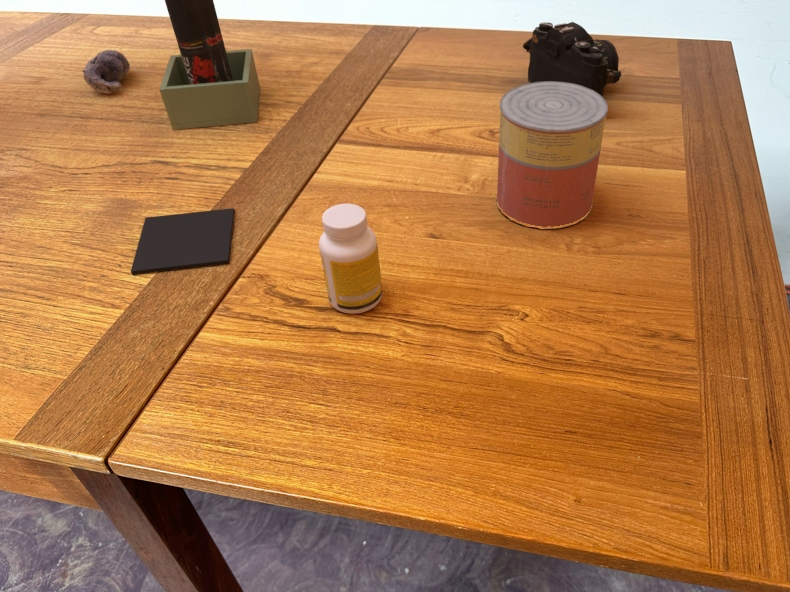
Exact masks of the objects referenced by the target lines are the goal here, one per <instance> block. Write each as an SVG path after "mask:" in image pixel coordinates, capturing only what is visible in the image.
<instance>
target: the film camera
mask: <svg viewBox="0 0 790 592" xmlns="http://www.w3.org/2000/svg"><path fill="white" fill-rule="evenodd" d="M522 47H523V49H524V50H525V53H529V63H528V66H527V67H528V68H527V81H528V82H529V83H534V82H544V81H555V82H566V83H572V84H577V85H580V86H584V87H586V88H589V89H591V90H593V91H595V92H597V93H598V94H600V95H601V96H602V97H603V98H604V89H605V87H606V86H607V85H610V84H612V85H613V84H616V83H618V82H619V81H620V80H621V77H622V71H621V70H619V63H620V62H619V60H620V57H619V55H618V51H617V49H616V46H615V45H614V44H613V42H611V41H610V40H608V39H597V38H595V39H594V38H593V37H592V35H590V34H589V33H588V31H587V30H586V29H585V28H584V27H583V26H581V25H580V24H578V23H576V22H574V21H571V22H568V23H566V22H565V23H564V22H563V23H558V24H553V23H552V22H540V23H539V24H538V26H536V27H535V28H534V29H533V30H532V37H530V38H529V39H527V40H526V41H524V43H523V44H522ZM528 82H527V83H528Z"/></svg>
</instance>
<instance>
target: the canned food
mask: <svg viewBox="0 0 790 592" xmlns="http://www.w3.org/2000/svg"><path fill="white" fill-rule="evenodd" d="M499 111H500V113H499V114H500V115H499V134H498V135H499V137H498V139H499V140H498V165H497V187H496V188H497V189H496V190H497V191H496V196H497V202H498V204H499V207H500V208H501V209H502V210H503V212H505V213H506V214H507V215H509V216H510V217H512V218H514V219H516V220H518V221H521V222H523V223H527V224H530V225H535V226H542V227H547V226H551V227H553V226H560V225H565V224H569V223H573V222H575V221H577V220H579V219H581V218H582V217H584V216H585V215H586V214H587V213H588V212H589V211H590V209H591V206H592V201H593V200H594V195H595V194H594V193H595V187H596V181H597V174H598V169H599V162H600V155H601V150H602V145H603V144H602V142H603V137H604V131H605V126H606V117H607V114H608V111H609V105H608V102H607V100H606V99H605V98H604V96H603V97H602V96H601V95H600V94H598V93H597V92H595V91H593V90H591V89H589V88H586V87H584V86H580V85H577V84H572V83H566V82H555V81H544V82H534V83H531V82H529V83H528V82H527V83H525V84H521V85H518V86H516V87H513V88H511V89H510V90H508V91H506V93H504V94H503V95H502V96H501V98H500V101H499ZM592 207H593V206H592Z"/></svg>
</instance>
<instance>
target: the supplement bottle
mask: <svg viewBox="0 0 790 592" xmlns="http://www.w3.org/2000/svg"><path fill="white" fill-rule="evenodd" d="M321 221H322V228H323V232H322V234H321V235H320V237H319V240H318V248H319V249H318V250H319V254H320V260H321V265H322V270H323V275H324V280H325V281H324V282H325V287H326V292H327V297H328V301H329V303H330V305H331V307H332V308H334V309H335V310H337V311H338V312H340V313H344V314H351V315H356V314H362V313H366V312H368V311H370V310H373V308H375V307H376V306H377V305H378V304H379V303H380V301H381V300H382V298H383V284H382V275H381V274H382V273H381V265H380V257H379V256H380V255H379V247H378V240H377V236H376V233H375V231H373V230H372V228H370V227H369V226H368V218H367V213H366V210H365V209H364V208H363V207H361V206H360V205H358V204H354V203H339V204H335V205H332V206H330V207H329V208H327V209H326V210H325V211H324V212H323V213H322V215H321Z"/></svg>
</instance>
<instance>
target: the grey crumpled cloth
mask: <svg viewBox="0 0 790 592" xmlns="http://www.w3.org/2000/svg"><path fill="white" fill-rule="evenodd" d="M130 69H131V67H130V63H129V60H128V58H126V56H125V55H124V54H123V53H122V52H120V51H118V50H116V49H106V50H103V51H101V52H97V55H95V56H94V57H92V58H91V59H89V60H88V62H87V63H86V65H85V67H84V69H83V70H82V73H83V75H82V76H83V79H84V81H85V82H86V84H87V85H88V86H89V87H90V88H91V89H93V90H94V91H98V92H100V93H103V94H106V95H107V94H111V93H112V92H113V90H114V91H119V90H120V88H121V87H122V83H121V81H122V79H123V78H124V77H125V76H126V75H127V74H128V73H129V70H130Z"/></svg>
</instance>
